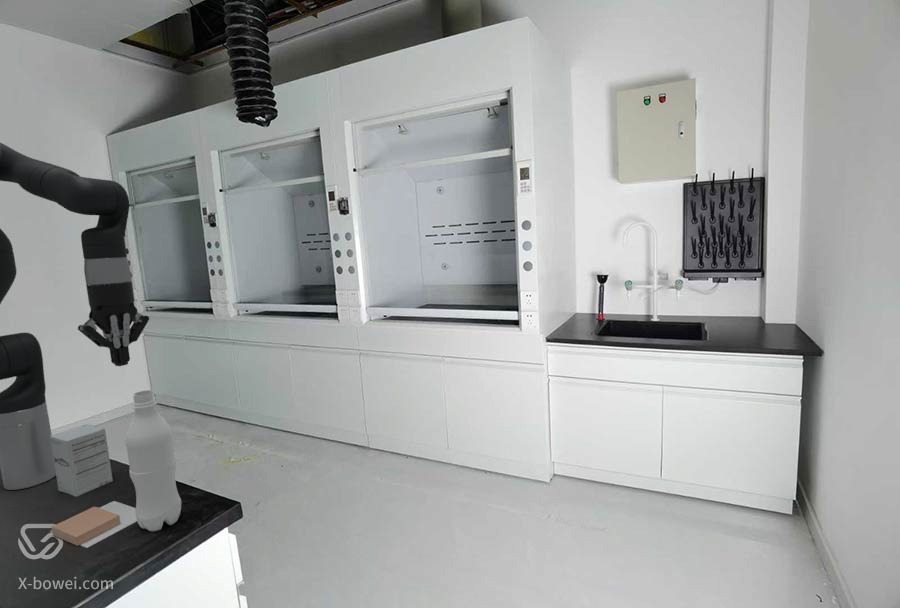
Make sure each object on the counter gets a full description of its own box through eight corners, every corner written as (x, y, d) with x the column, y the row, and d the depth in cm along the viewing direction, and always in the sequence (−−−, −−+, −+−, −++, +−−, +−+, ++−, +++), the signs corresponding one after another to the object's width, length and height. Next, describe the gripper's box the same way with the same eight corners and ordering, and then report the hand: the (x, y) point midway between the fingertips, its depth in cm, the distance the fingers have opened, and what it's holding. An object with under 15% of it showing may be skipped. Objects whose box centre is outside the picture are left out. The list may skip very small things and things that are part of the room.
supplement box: (57, 491, 102) (48, 435, 100) (96, 476, 108) (88, 422, 107) (75, 499, 99) (66, 440, 97) (114, 482, 105) (106, 427, 103)
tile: (95, 514, 92) (52, 535, 85) (94, 506, 91) (51, 526, 85) (120, 523, 88) (77, 546, 82) (119, 515, 88) (76, 537, 82)
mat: (49, 533, 87) (49, 531, 87) (114, 502, 96) (114, 500, 96) (87, 549, 81) (86, 547, 81) (151, 515, 91) (151, 513, 91)
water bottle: (157, 512, 92) (139, 386, 89) (191, 512, 91) (175, 386, 88) (128, 535, 85) (108, 399, 82) (165, 536, 84) (146, 399, 81)
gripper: (132, 278, 103) (142, 356, 106) (60, 284, 92) (74, 372, 94) (153, 277, 100) (164, 358, 102) (82, 284, 88) (96, 375, 91)
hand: (121, 365), depth 98 cm, fingers closed
